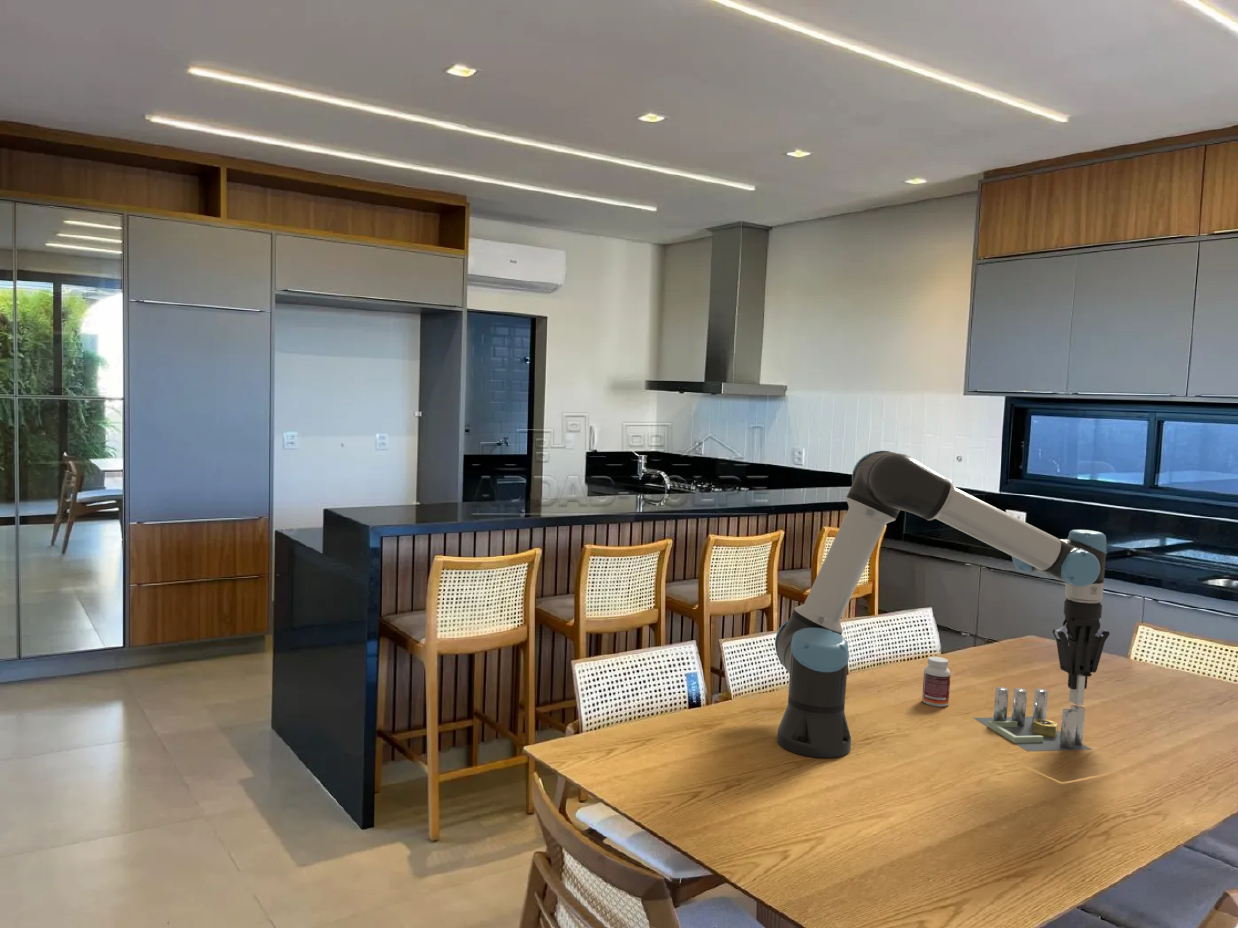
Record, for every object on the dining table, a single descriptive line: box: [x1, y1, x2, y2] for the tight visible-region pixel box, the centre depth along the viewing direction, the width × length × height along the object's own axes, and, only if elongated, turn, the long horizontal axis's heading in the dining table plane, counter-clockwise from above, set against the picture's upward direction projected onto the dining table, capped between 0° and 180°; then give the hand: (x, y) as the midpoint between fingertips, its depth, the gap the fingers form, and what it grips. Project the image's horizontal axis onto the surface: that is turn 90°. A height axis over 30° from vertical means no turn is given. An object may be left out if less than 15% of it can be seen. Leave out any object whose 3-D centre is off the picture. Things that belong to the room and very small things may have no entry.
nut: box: [1032, 718, 1059, 738], centre depth 199 cm, size 5×5×3 cm
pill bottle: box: [921, 656, 952, 708], centre depth 218 cm, size 6×6×11 cm
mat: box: [973, 716, 1093, 752], centre depth 199 cm, size 16×20×1 cm
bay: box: [986, 721, 1043, 744], centre depth 197 cm, size 7×10×1 cm
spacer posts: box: [992, 686, 1086, 751], centre depth 198 cm, size 12×18×8 cm
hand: (1076, 702), depth 200 cm, fingers closed
